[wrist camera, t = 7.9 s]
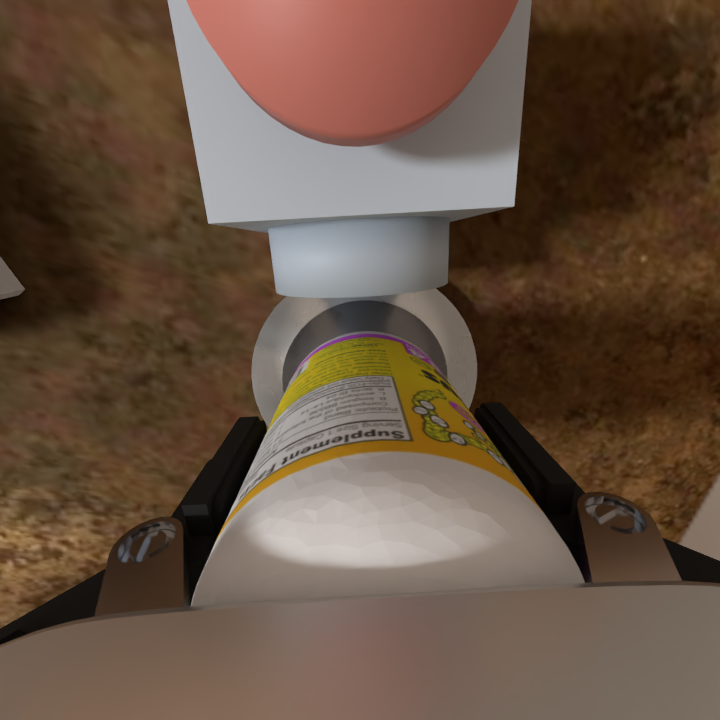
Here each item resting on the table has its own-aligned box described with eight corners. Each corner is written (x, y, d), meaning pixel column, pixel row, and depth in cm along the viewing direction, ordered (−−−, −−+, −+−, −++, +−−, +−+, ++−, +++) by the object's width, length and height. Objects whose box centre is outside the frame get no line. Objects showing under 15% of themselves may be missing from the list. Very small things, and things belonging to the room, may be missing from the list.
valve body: (433, 271, 16) (561, 311, 6) (284, 279, 16) (179, 333, 6) (436, 31, 13) (685, -594, 3) (255, 41, 13) (-27, -561, 3)
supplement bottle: (458, 444, 15) (876, 1221, 3) (319, 484, 16) (213, 1289, 4) (422, 303, 13) (1257, 980, 1) (263, 353, 14) (-433, 1212, 2)
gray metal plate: (465, 459, 19) (472, 472, 18) (272, 470, 19) (267, 484, 18) (476, 257, 16) (486, 258, 15) (240, 271, 16) (231, 273, 15)
